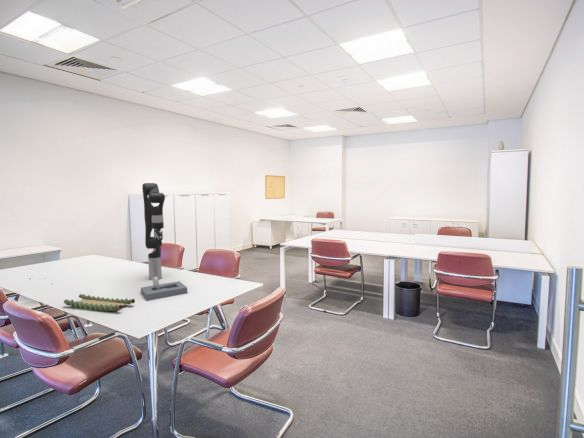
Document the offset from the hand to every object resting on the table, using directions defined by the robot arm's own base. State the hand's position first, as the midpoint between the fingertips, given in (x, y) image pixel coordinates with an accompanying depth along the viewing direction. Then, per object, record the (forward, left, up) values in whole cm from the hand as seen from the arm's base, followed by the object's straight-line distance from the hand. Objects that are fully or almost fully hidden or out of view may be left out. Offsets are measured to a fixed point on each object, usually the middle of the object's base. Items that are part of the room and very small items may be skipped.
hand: (158, 244), depth 228 cm
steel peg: (+10, -5, -32) cm, 34 cm away
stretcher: (+14, -39, -33) cm, 52 cm away
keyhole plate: (+10, 0, -32) cm, 34 cm away
